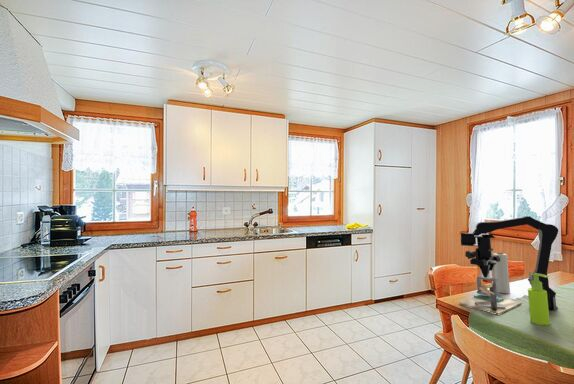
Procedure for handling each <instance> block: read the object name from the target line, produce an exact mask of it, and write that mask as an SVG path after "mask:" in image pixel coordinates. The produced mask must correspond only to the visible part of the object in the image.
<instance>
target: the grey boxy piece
mask: <svg viewBox="0 0 574 384" xmlns="http://www.w3.org/2000/svg"><path fill="white" fill-rule="evenodd" d="M482 280H485V281H490V282H492V283H493V285H494V294H496V297H500V293H499V292H498V283H497V279H494V278H493V271H492V270H489V272H488V275H487V277H484V276H483V274H482V271H481V270H480V275H477V276H476V286H477V287H476V289H477V291H476V294H483V295H487V294H486V293H484V292H483V291H481V290H480V286H482ZM487 296H489V295H487Z"/></svg>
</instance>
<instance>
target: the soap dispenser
mask: <svg viewBox="0 0 574 384" xmlns="http://www.w3.org/2000/svg"><path fill="white" fill-rule="evenodd" d="M530 273H531V275H533V279H534V280H533V281H531V285H530V286H531V287H530V288H527V294H528V305H529V306H528V307H529V318H530V322H531V323H532V324H536V325H540V326H550V324H551V323H550V310H548V299H547V291H545V290H543V289H542V282H540V281H539V276H542V277H545V278H546V277H548V278H549V277H550V276H549V275H548V274H547V275H544V274H539V273H533V272H530Z"/></svg>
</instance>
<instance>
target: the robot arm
mask: <svg viewBox="0 0 574 384" xmlns="http://www.w3.org/2000/svg"><path fill="white" fill-rule="evenodd" d="M526 225H527V226H529V227H531V228H534V229H535V230H537V232H538V233H537V234H538V238H539V243H538V244H539V245H538V251H537V257H536V263H535V268H534V271H533V272H528V276H529V277H528V279H527V281H528V283H529V285H530V286H531V281H533V280H534V279H533V275H531V273H539V274H544V275H547V276H548V270H549V269H548V268H549V263H550V258H551V252H552V245H553V243H555V242H554V241H555V240H556V238H557V236H558V234H559V229H558V227H557V226H556V225H554V224H550V223H544V222H542V221H539V220H538V219H535V218H533V217H532V216H529V215H524V216H521V217H516V218H509V219H504V220H498V221H480V222H478V223H477V224H476V225H475V229H474V230H473V231H472V233H469V232H467V233H465V232H460V246H463V247H465V246H466V247H474V246H475V245H476V244H477V247H476V248H475V251H474V250H473V251H471V250H466V251H465V256H464V257H466V258H467V260H469V264H470V265H474V266H477V267H478V268H479V269H480V272H481V271H482V274H483V276H484V277H487V275H488V272H489V270H493V268H494V266H495V264H496V263H493V261H497V262H500V257H499V256H495V255H492V253H493V251H494V248H492V241H491V240H492V239H495V238H496V237H495V236H494V235H493V234H492V232H494V231H495V232H496V231H497V230H501V229H508V228H514V227H519V226H526ZM492 260H493V261H492ZM539 281H540V282H542V289H543V290H545V291H547V299H548V310H549V311H551V312H552V311H555V310H557V309H558V308H559V307H558V306H557V298H556V295H557V292H555V291H554V289H552V288H551V287H550V283H549V277H546V278H545V277H542V276H539Z"/></svg>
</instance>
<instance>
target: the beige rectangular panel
mask: <svg viewBox="0 0 574 384" xmlns="http://www.w3.org/2000/svg"><path fill="white" fill-rule="evenodd" d="M496 301H497V311H494V310H491V300H490V296H487V295H483V294H478V293H476V294H474V295H473V297H471V298H468V299H465V300H462V301H460V302H458V305H459V306H463V307H464V308H465V307H466V308H469V309H473V310H476V311H480V310H486V311H490V312H493V313H496V314H501V313H503V314H505V313H507V312H506V311H508V310H510V309H512V308H514V307H516V306H518V305H520V304H523V303H522V302H521V301H518V300H517V301H516V300H513V299H507V298H502V297H500V296H498V297H496ZM520 306H521V305H520ZM518 307H519V306H518ZM516 308H517V307H516ZM514 309H515V308H514ZM512 310H513V309H512ZM510 311H511V310H510ZM504 312H505V313H504ZM508 312H509V311H508ZM501 315H502V314H501Z"/></svg>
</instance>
